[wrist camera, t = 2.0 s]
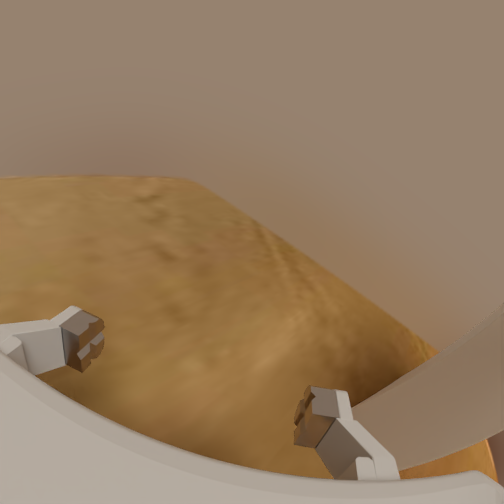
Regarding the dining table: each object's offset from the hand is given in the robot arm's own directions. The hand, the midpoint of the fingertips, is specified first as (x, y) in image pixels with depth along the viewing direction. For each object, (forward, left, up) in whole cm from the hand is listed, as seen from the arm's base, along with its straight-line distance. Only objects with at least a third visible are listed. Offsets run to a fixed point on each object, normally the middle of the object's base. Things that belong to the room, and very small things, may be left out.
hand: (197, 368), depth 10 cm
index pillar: (+23, +8, -11) cm, 27 cm away
